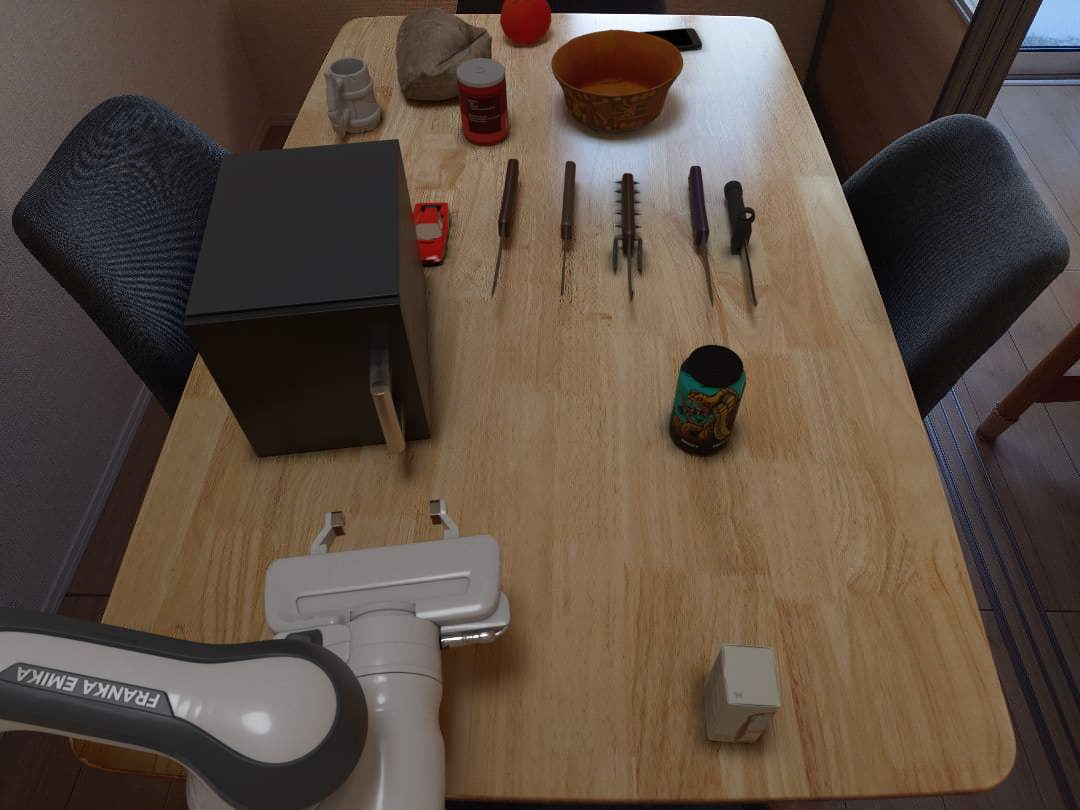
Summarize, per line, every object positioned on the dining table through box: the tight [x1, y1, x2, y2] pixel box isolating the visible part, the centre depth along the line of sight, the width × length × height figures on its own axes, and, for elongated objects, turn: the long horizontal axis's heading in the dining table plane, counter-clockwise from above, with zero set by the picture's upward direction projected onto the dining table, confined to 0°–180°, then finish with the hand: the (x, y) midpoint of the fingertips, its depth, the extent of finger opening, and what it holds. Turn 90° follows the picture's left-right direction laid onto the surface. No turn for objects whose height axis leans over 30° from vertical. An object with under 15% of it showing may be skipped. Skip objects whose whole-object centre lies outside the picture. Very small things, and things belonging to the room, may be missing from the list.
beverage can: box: [668, 344, 747, 455], centre depth 83 cm, size 7×7×12 cm
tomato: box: [499, 0, 552, 44], centre depth 143 cm, size 9×10×8 cm
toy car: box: [412, 201, 451, 266], centre depth 109 cm, size 12×5×3 cm, turn 1°
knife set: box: [490, 158, 758, 308], centre depth 104 cm, size 35×33×8 cm
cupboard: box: [184, 138, 432, 431], centre depth 88 cm, size 26×20×22 cm
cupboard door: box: [183, 297, 432, 458], centre depth 78 cm, size 7×20×22 cm, turn 97°
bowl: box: [550, 29, 684, 132], centre depth 125 cm, size 21×21×10 cm
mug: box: [323, 56, 382, 138], centre depth 124 cm, size 8×12×12 cm, turn 163°
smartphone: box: [640, 27, 703, 51], centre depth 143 cm, size 7×15×1 cm, turn 97°
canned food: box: [457, 58, 509, 147], centre depth 122 cm, size 8×8×11 cm
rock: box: [395, 6, 493, 102], centre depth 132 cm, size 16×17×15 cm
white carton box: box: [703, 642, 782, 744], centre depth 65 cm, size 5×4×10 cm
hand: (387, 508), depth 70 cm, fingers open, 8 cm apart
